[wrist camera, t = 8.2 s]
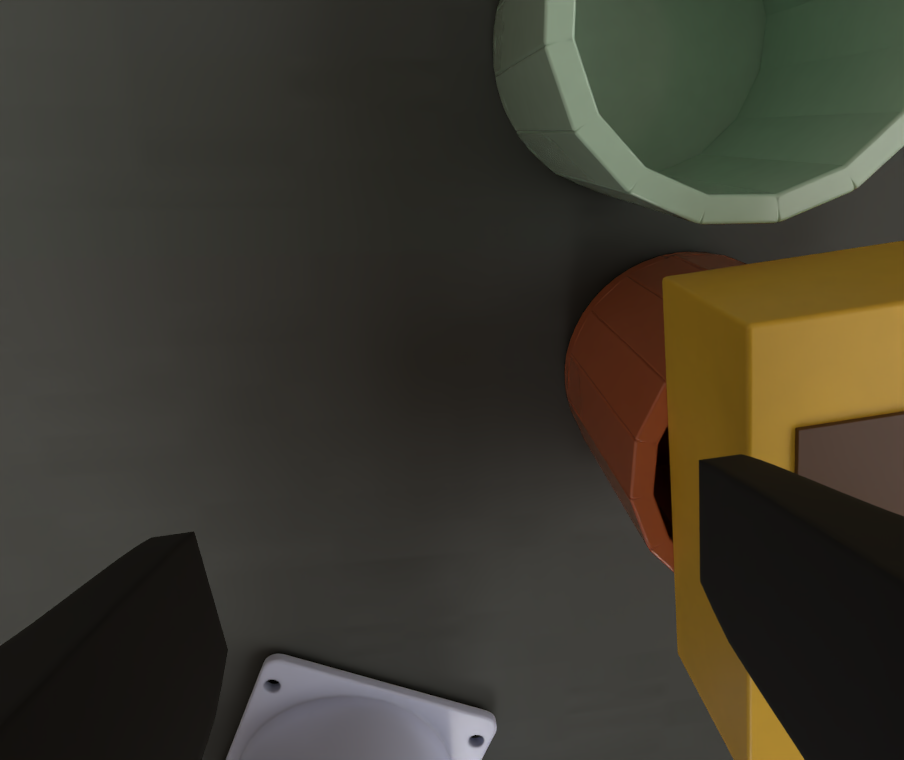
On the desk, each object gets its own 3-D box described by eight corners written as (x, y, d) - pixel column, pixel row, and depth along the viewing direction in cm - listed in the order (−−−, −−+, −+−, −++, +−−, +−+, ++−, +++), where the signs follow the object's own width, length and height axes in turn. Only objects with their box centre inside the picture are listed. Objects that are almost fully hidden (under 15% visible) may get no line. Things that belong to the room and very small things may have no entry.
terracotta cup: (721, 498, 22) (842, 637, 16) (526, 428, 21) (577, 550, 15) (833, 302, 20) (1017, 375, 14) (627, 214, 19) (732, 252, 13)
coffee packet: (898, 618, 16) (1031, 749, 13) (676, 653, 16) (750, 795, 13) (929, 235, 13) (1112, 271, 10) (660, 276, 13) (750, 326, 10)
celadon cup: (689, 232, 19) (835, 284, 13) (449, 128, 18) (474, 127, 12) (823, -39, 17) (1078, -143, 11) (565, -176, 16) (676, -387, 10)
